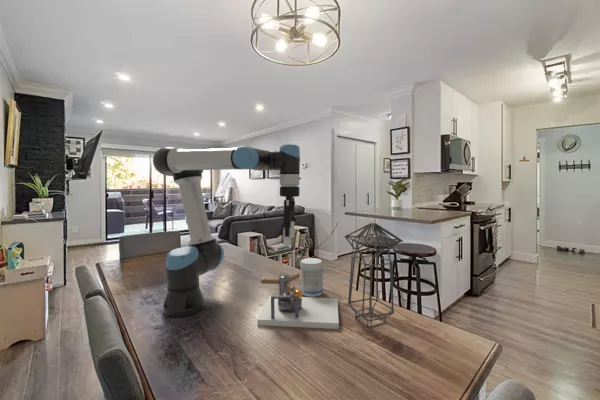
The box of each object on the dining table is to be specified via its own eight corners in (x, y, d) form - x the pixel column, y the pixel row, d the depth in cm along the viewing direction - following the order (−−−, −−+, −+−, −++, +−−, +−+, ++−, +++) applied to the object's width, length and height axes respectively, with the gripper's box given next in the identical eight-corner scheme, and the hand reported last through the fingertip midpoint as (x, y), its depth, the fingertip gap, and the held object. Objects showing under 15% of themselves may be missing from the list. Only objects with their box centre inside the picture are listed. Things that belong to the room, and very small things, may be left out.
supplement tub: (327, 294, 124) (327, 261, 123) (309, 299, 119) (309, 265, 118) (313, 287, 132) (313, 256, 131) (296, 292, 127) (296, 259, 126)
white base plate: (257, 325, 98) (256, 295, 98) (269, 300, 118) (269, 275, 118) (338, 329, 95) (338, 298, 95) (337, 303, 115) (337, 277, 114)
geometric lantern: (340, 314, 106) (341, 221, 104) (374, 307, 112) (376, 219, 110) (366, 335, 91) (368, 227, 89) (404, 326, 97) (406, 224, 96)
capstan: (255, 315, 100) (255, 283, 100) (266, 297, 116) (265, 269, 115) (300, 317, 99) (300, 284, 98) (304, 298, 114) (304, 270, 114)
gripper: (297, 187, 95) (296, 249, 97) (301, 185, 120) (300, 234, 122) (274, 187, 96) (274, 248, 97) (283, 184, 120) (283, 234, 122)
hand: (289, 241), depth 110 cm, fingers open, 13 cm apart
